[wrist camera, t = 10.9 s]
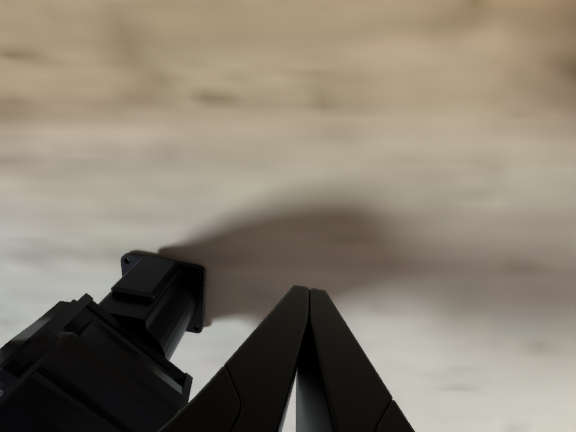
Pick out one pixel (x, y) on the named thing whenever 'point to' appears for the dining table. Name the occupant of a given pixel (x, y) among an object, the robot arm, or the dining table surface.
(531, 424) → the dining table surface
